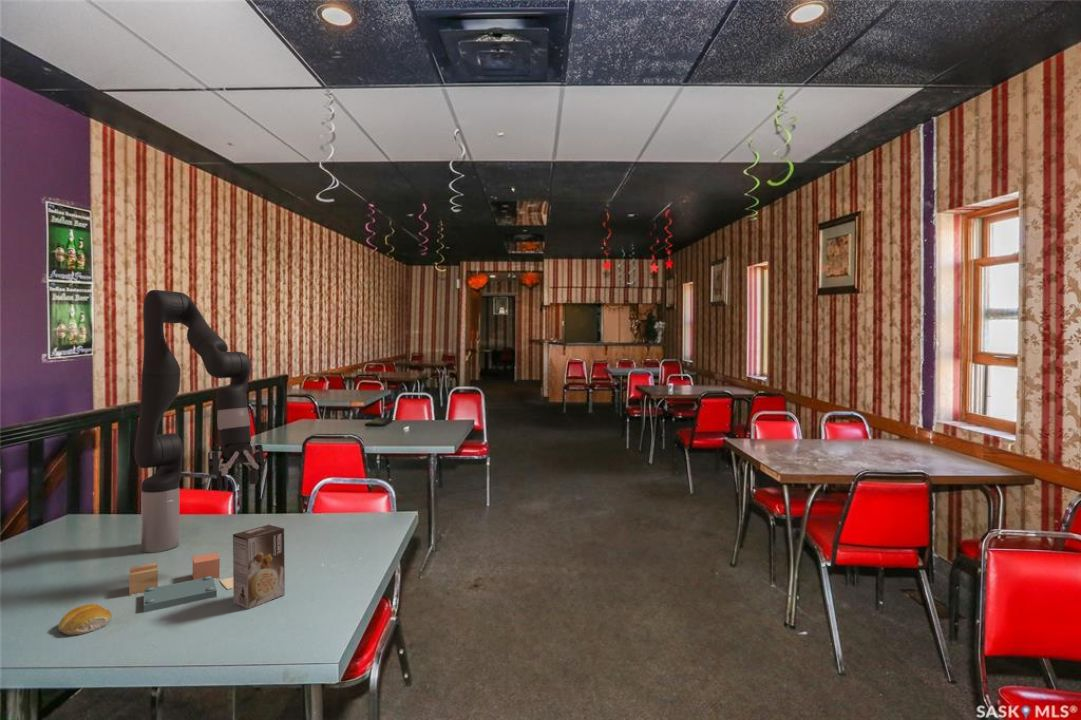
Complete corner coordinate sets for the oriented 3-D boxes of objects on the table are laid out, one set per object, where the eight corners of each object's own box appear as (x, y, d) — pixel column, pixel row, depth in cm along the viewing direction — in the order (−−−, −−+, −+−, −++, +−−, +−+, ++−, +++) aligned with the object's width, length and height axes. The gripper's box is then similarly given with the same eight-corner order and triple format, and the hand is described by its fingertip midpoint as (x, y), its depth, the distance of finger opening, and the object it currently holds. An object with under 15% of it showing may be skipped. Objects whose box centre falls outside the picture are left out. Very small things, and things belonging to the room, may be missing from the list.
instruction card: (219, 581, 140) (219, 579, 140) (262, 570, 147) (262, 569, 147) (227, 589, 135) (227, 588, 135) (271, 578, 141) (271, 577, 141)
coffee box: (269, 589, 135) (270, 523, 135) (285, 595, 132) (285, 528, 132) (232, 603, 128) (232, 533, 127) (247, 610, 124) (248, 538, 124)
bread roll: (99, 613, 122) (99, 595, 122) (116, 624, 118) (116, 605, 118) (51, 628, 116) (51, 609, 116) (67, 641, 111) (67, 621, 111)
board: (143, 595, 131) (143, 587, 131) (212, 582, 139) (212, 574, 139) (143, 612, 123) (143, 603, 123) (216, 596, 131) (216, 588, 131)
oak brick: (129, 587, 136) (129, 567, 135) (157, 582, 139) (157, 562, 139) (129, 595, 131) (129, 574, 131) (157, 590, 134) (157, 569, 134)
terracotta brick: (192, 575, 143) (192, 556, 143) (217, 571, 146) (217, 552, 146) (194, 583, 139) (194, 563, 139) (219, 578, 142) (219, 558, 142)
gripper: (249, 424, 156) (254, 482, 155) (198, 430, 143) (203, 493, 142) (267, 422, 152) (272, 481, 151) (216, 428, 140) (222, 492, 139)
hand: (239, 487), depth 147 cm, fingers open, 8 cm apart
